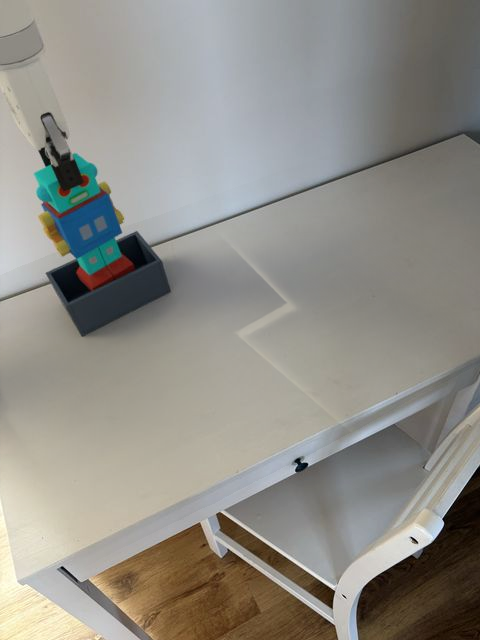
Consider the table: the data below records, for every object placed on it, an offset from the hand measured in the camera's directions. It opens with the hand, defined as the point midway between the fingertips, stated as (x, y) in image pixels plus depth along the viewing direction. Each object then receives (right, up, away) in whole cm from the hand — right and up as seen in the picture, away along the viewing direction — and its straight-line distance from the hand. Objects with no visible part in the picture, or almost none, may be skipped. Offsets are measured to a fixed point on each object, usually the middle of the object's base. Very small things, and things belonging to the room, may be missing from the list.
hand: (64, 175), depth 77 cm
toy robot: (+2, -12, +16) cm, 20 cm away
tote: (+2, -16, +20) cm, 25 cm away
